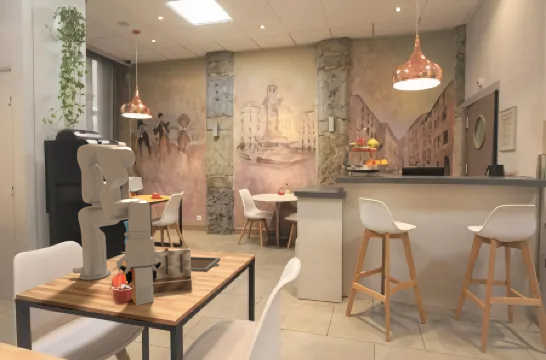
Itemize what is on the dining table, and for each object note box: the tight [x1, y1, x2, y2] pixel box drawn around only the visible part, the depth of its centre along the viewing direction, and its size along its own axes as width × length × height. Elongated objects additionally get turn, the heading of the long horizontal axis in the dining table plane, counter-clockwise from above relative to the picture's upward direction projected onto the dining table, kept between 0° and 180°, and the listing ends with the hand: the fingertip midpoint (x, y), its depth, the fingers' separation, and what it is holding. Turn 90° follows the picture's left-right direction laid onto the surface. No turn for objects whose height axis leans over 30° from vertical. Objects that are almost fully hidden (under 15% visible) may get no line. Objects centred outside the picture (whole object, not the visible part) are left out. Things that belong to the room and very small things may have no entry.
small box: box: [130, 266, 155, 307], centre depth 126 cm, size 8×6×13 cm
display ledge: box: [153, 247, 193, 294], centre depth 141 cm, size 20×15×14 cm
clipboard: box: [191, 256, 221, 272], centre depth 171 cm, size 19×2×30 cm
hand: (141, 281), depth 126 cm, fingers closed on small box, 7 cm apart
